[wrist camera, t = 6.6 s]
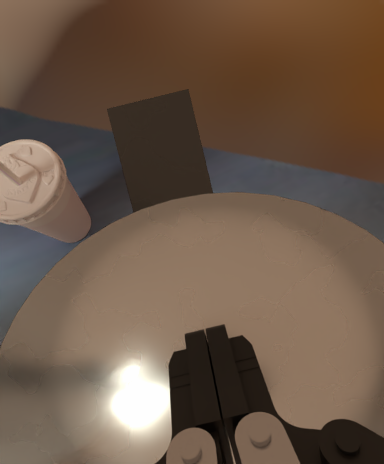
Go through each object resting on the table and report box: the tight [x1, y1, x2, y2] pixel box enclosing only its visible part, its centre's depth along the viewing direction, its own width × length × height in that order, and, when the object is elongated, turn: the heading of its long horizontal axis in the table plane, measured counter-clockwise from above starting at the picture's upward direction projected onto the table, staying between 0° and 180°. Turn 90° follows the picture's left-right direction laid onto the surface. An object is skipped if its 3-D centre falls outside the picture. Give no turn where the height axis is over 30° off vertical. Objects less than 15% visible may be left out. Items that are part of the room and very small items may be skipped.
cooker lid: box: [0, 89, 384, 464], centre depth 14 cm, size 22×19×2 cm
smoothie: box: [0, 140, 91, 243], centre depth 27 cm, size 6×6×14 cm
